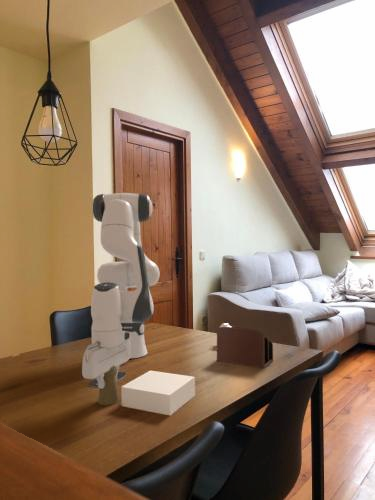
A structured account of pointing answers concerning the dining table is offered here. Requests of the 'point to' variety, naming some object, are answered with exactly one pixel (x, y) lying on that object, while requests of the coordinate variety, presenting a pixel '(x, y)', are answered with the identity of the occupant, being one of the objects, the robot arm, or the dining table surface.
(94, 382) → the smartphone
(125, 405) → the white block
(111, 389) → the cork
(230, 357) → the letter holder
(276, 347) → the dining table surface
